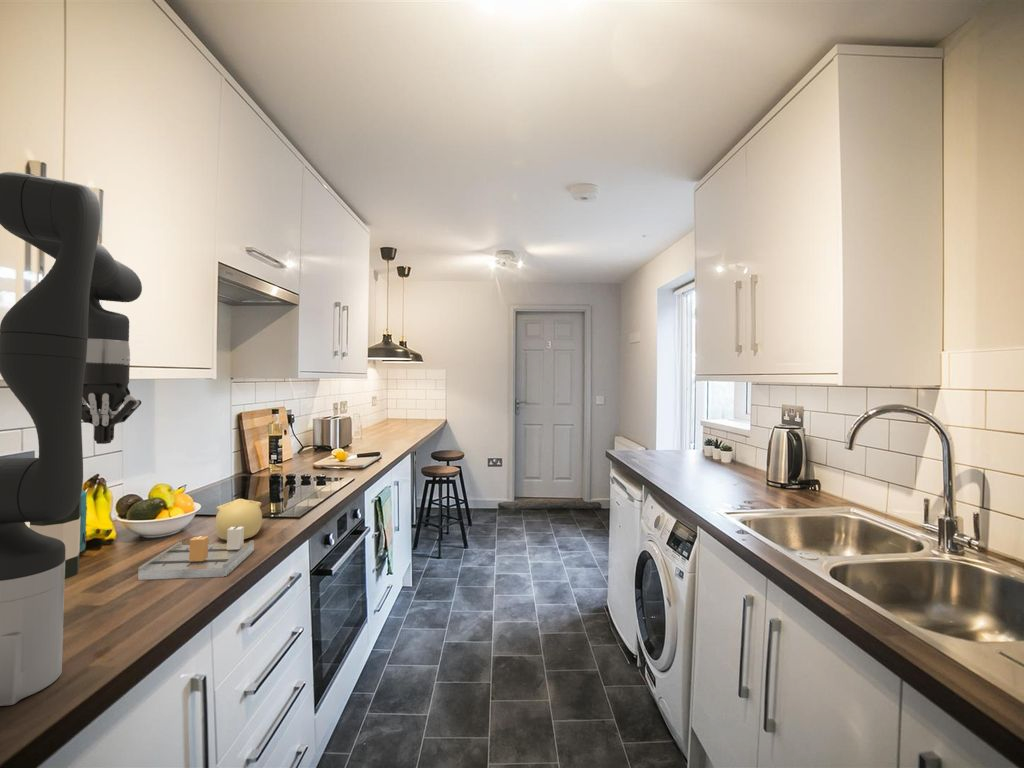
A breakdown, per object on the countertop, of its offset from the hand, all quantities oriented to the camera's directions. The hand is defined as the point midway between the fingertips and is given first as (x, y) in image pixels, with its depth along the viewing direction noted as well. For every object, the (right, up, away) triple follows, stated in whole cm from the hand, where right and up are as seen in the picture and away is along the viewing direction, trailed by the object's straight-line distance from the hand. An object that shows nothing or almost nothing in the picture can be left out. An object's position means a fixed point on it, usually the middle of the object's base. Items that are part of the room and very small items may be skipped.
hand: (103, 443), depth 96 cm
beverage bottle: (-23, -30, +16) cm, 41 cm away
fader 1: (+12, -29, +11) cm, 33 cm away
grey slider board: (+11, -31, +14) cm, 36 cm away
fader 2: (+16, -29, +19) cm, 38 cm away
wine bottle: (-16, -31, +6) cm, 35 cm away
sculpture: (+8, -32, +33) cm, 47 cm away
